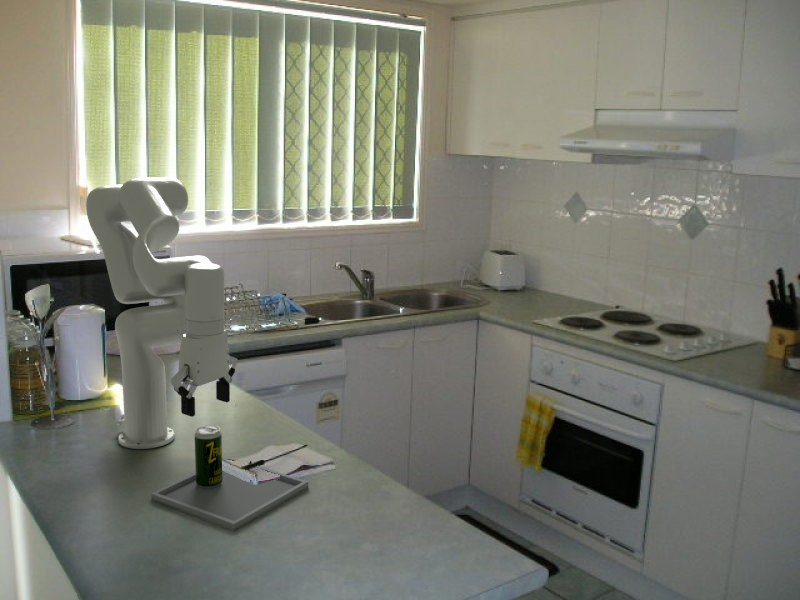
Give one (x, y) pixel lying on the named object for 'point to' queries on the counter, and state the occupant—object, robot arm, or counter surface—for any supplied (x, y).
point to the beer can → (208, 457)
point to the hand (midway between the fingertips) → (206, 407)
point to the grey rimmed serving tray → (229, 498)
